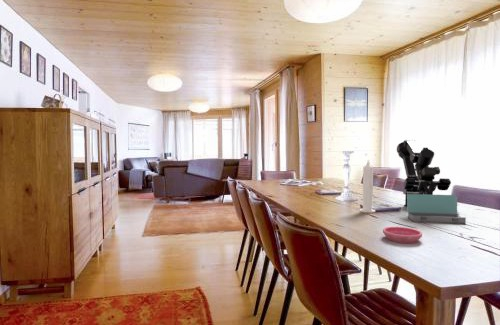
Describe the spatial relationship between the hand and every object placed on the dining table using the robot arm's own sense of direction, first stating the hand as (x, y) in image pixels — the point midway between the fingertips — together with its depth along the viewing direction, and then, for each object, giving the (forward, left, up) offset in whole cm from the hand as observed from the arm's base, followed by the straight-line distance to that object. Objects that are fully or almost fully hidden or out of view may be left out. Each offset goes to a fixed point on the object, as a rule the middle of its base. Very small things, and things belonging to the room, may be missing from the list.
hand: (430, 198), depth 148 cm
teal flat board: (+4, -5, -8) cm, 11 cm away
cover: (+1, -1, -2) cm, 3 cm away
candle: (-25, -10, -8) cm, 28 cm away
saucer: (+8, -43, -9) cm, 44 cm away
